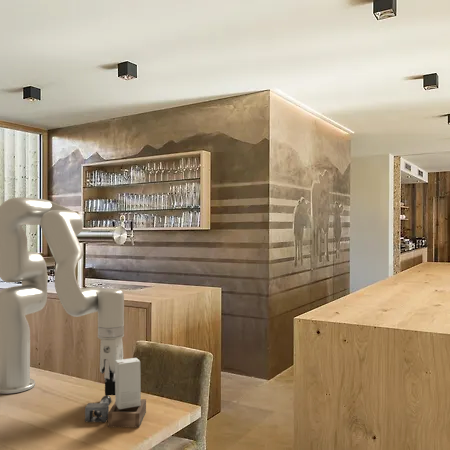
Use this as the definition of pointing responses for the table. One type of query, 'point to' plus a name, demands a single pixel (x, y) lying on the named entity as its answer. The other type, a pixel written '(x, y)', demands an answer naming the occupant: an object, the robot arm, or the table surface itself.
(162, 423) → the table surface
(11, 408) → the table surface
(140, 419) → the brown wooden open box
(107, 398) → the lock pin
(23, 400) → the table surface
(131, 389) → the skincare box
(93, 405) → the pin mount
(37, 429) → the table surface
